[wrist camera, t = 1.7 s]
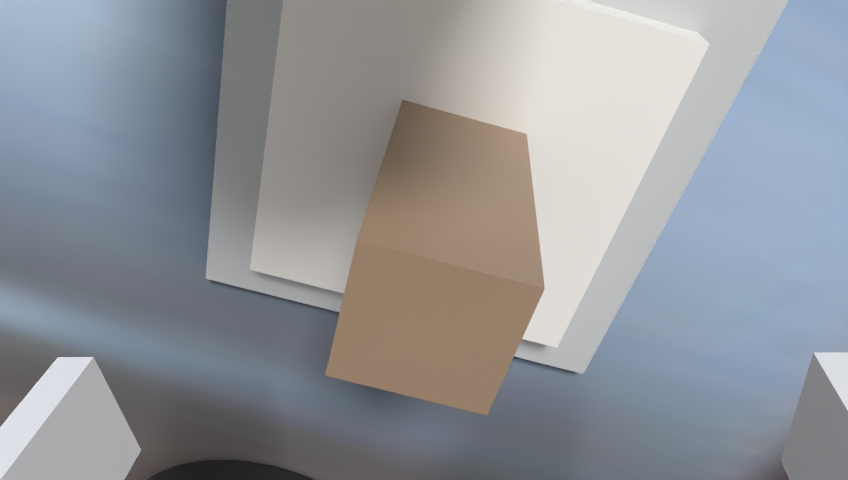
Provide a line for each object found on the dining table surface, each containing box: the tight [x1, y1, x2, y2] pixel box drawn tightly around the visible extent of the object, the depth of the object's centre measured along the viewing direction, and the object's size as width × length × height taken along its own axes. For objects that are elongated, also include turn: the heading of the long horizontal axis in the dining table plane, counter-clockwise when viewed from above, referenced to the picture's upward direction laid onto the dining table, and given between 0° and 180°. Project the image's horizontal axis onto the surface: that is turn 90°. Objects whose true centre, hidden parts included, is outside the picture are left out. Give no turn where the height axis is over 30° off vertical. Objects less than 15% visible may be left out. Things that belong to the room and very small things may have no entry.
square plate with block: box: [250, 0, 710, 415], centre depth 18 cm, size 12×12×9 cm
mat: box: [206, 0, 789, 374], centre depth 22 cm, size 16×16×1 cm
